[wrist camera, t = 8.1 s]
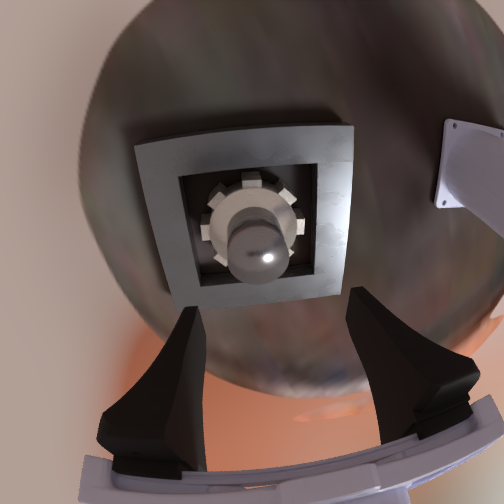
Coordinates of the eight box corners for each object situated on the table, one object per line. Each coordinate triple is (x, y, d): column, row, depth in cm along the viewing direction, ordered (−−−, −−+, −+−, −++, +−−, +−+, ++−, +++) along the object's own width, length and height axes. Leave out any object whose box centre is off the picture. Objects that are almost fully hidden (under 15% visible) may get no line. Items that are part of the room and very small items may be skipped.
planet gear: (300, 170, 20) (323, 200, 15) (296, 255, 24) (312, 300, 19) (198, 175, 20) (189, 208, 15) (208, 261, 24) (204, 308, 19)
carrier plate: (345, 122, 18) (353, 125, 17) (335, 283, 26) (340, 293, 25) (140, 141, 18) (133, 146, 17) (178, 300, 26) (176, 312, 24)
